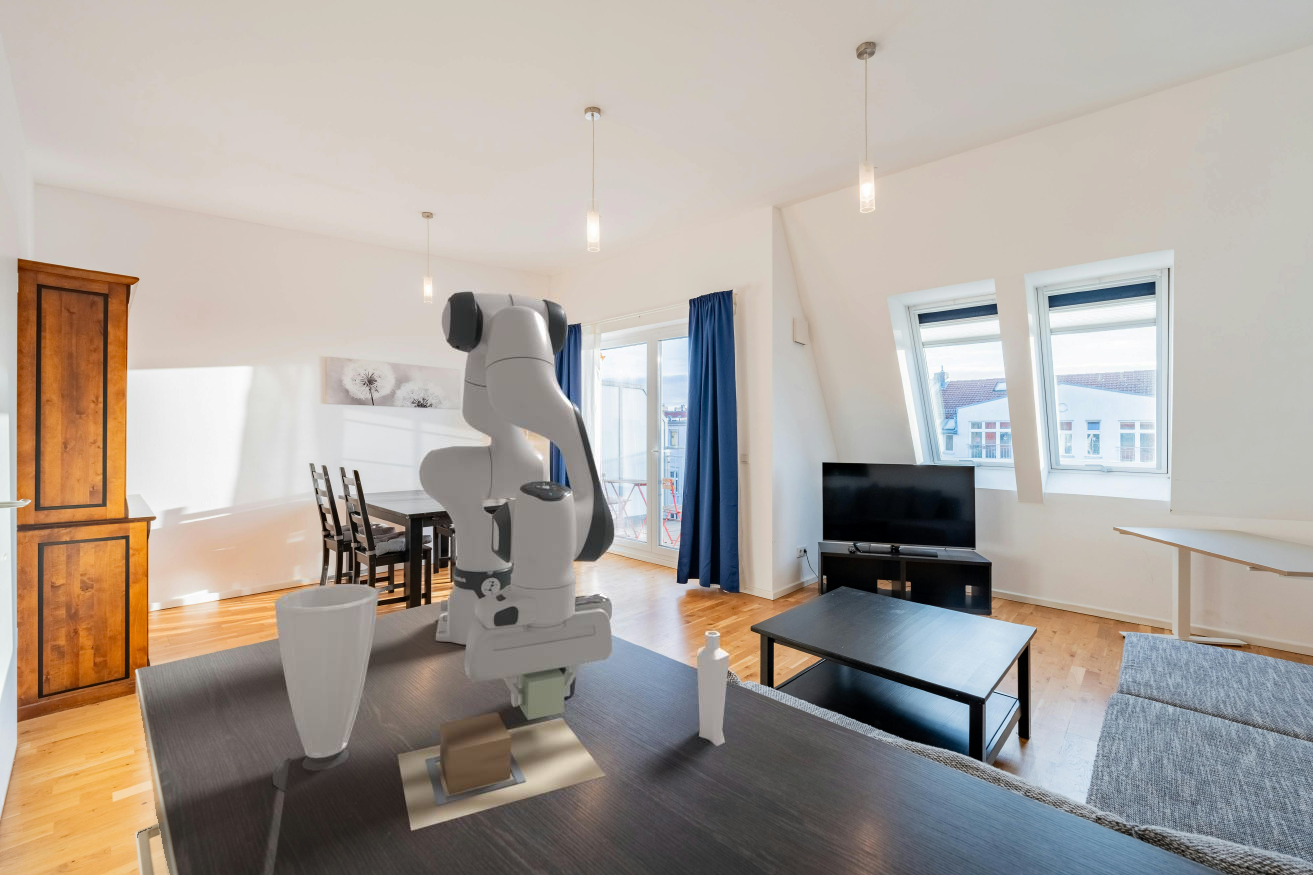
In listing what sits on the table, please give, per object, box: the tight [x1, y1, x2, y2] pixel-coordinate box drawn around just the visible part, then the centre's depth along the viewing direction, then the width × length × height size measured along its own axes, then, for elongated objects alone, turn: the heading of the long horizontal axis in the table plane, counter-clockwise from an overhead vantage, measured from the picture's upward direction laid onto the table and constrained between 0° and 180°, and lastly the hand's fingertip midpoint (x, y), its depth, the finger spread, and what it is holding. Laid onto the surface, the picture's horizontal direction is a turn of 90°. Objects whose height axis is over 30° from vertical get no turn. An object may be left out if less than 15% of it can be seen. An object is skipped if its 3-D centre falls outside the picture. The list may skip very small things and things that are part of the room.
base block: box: [439, 711, 511, 795], centre depth 72 cm, size 7×7×5 cm
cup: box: [272, 583, 379, 793], centre depth 74 cm, size 12×12×22 cm
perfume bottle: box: [696, 630, 730, 747], centre depth 83 cm, size 5×4×15 cm
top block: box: [517, 668, 565, 721], centre depth 82 cm, size 5×5×5 cm
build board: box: [397, 717, 607, 831], centre depth 74 cm, size 16×22×1 cm
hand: (540, 699), depth 82 cm, fingers closed on top block, 5 cm apart
